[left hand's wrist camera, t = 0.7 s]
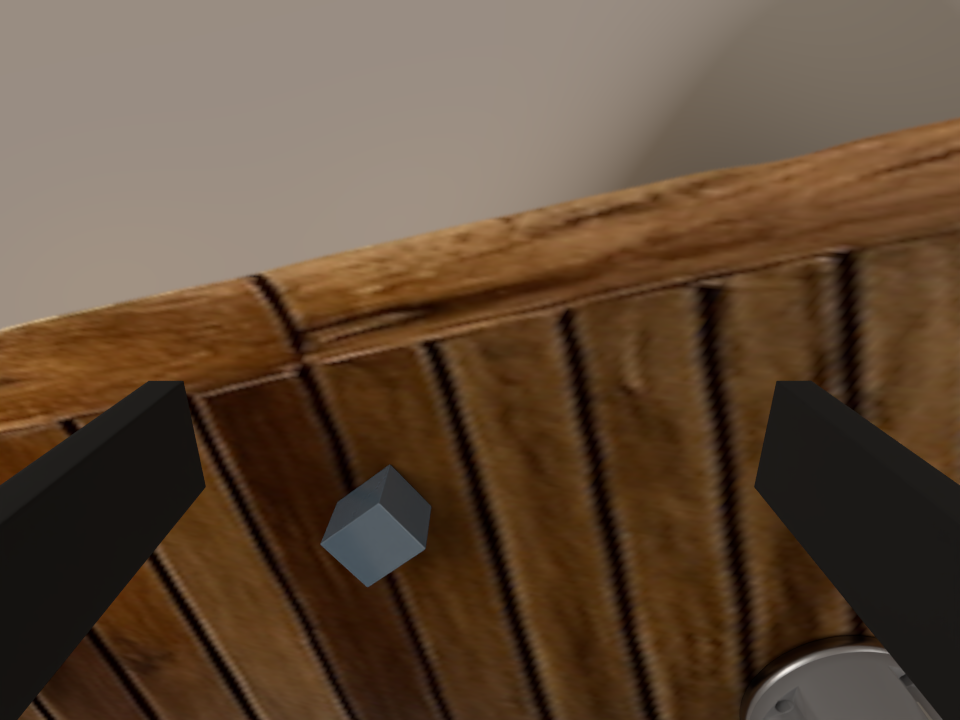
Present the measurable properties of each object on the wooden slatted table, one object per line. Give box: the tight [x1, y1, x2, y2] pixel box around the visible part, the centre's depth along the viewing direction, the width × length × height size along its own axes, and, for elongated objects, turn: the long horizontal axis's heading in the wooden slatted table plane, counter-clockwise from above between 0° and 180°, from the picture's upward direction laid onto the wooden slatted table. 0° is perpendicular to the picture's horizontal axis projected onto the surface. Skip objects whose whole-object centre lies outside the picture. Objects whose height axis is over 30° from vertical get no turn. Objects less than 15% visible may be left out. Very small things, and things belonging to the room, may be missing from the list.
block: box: [321, 465, 431, 587], centre depth 38 cm, size 4×5×5 cm
